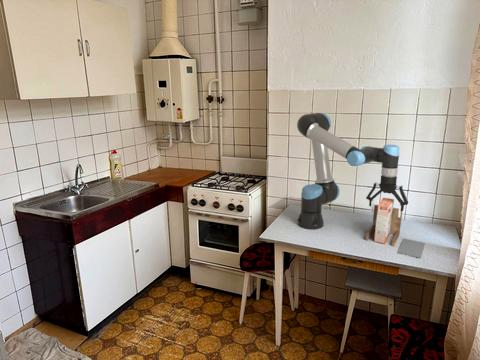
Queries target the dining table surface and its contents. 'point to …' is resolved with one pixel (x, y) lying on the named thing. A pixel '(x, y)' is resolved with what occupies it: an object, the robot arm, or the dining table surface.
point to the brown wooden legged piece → (394, 224)
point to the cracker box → (383, 220)
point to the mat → (411, 248)
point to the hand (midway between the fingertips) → (385, 214)
